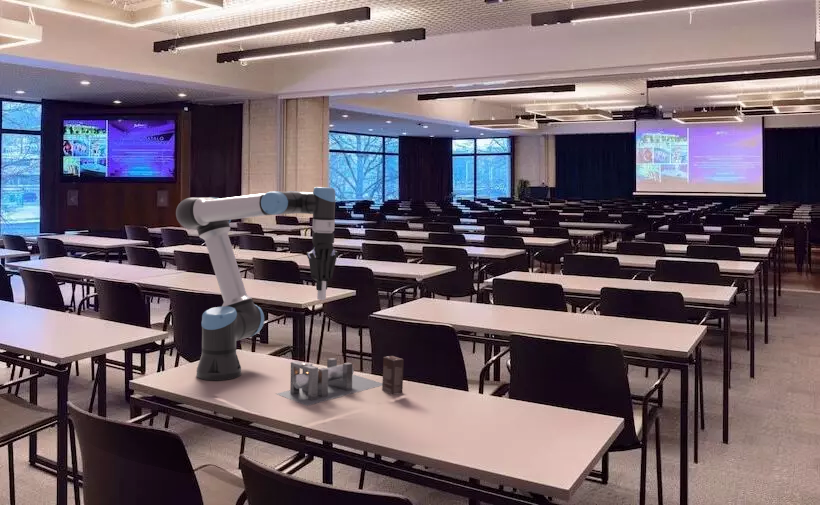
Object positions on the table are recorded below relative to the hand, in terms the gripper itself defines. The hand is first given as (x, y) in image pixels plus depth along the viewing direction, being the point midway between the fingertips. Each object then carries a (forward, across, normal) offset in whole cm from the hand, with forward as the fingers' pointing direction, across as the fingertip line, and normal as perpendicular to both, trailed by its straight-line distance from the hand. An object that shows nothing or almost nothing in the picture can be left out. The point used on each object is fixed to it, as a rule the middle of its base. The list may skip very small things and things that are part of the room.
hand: (321, 299), depth 238 cm
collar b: (+27, -14, -15) cm, 34 cm away
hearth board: (+28, -7, -15) cm, 32 cm away
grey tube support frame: (+27, -4, -15) cm, 31 cm away
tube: (+24, -11, -15) cm, 30 cm away
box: (+28, +6, -30) cm, 41 cm away
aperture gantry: (+27, -19, -15) cm, 36 cm away
